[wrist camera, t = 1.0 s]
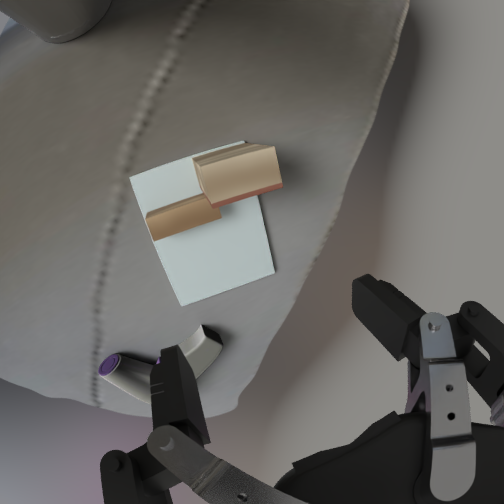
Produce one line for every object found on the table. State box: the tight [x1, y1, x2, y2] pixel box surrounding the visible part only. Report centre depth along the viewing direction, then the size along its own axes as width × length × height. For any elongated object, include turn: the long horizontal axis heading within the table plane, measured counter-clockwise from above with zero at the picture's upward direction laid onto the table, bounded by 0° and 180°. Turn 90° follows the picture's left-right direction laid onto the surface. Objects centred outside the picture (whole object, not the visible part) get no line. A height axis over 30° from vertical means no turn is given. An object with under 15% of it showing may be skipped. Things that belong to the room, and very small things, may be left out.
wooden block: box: [192, 143, 283, 209], centre depth 23 cm, size 3×6×8 cm, turn 103°
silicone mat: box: [130, 141, 275, 306], centre depth 29 cm, size 16×12×1 cm
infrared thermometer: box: [98, 325, 223, 404], centre depth 33 cm, size 5×12×15 cm
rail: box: [145, 193, 222, 242], centre depth 26 cm, size 2×7×2 cm, turn 103°
